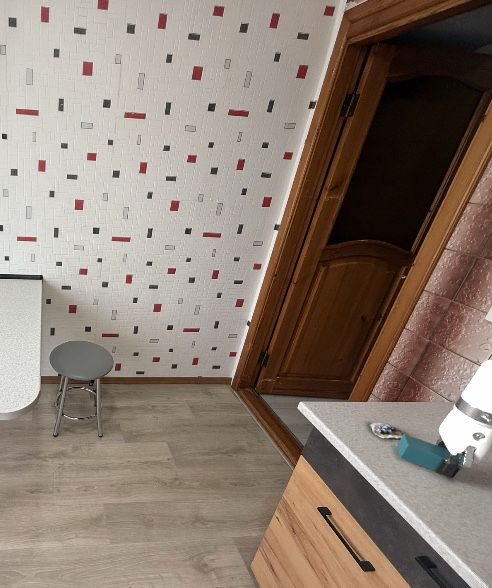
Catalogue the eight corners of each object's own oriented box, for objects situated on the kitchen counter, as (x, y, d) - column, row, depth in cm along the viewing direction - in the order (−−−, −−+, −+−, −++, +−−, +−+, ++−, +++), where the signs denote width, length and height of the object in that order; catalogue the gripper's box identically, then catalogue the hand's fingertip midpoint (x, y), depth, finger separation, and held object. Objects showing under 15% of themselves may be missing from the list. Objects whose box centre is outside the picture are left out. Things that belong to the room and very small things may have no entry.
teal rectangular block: (447, 465, 84) (456, 452, 82) (453, 478, 80) (463, 465, 78) (396, 446, 88) (403, 433, 87) (400, 457, 85) (408, 444, 83)
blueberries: (408, 438, 92) (411, 433, 91) (390, 445, 89) (393, 440, 88) (381, 421, 97) (384, 416, 97) (363, 426, 95) (366, 421, 94)
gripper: (524, 443, 67) (474, 502, 74) (487, 397, 80) (448, 451, 88) (472, 426, 71) (429, 484, 78) (445, 385, 84) (411, 438, 91)
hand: (440, 466), depth 83 cm, fingers closed on teal rectangular block, 4 cm apart
